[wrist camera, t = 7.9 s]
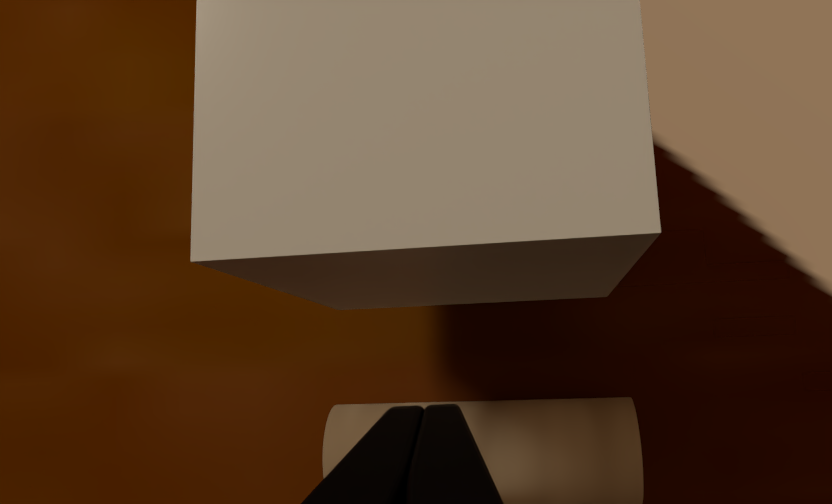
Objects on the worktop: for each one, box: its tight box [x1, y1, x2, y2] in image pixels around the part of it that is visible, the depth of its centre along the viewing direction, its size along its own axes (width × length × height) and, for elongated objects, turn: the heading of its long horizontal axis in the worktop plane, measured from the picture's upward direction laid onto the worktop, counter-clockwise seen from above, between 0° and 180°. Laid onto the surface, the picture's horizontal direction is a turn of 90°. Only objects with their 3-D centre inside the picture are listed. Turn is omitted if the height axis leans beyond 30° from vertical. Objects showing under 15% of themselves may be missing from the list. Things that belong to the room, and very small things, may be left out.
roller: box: [323, 397, 644, 504], centre depth 14 cm, size 6×2×2 cm
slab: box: [191, 0, 661, 310], centre depth 11 cm, size 6×5×6 cm
